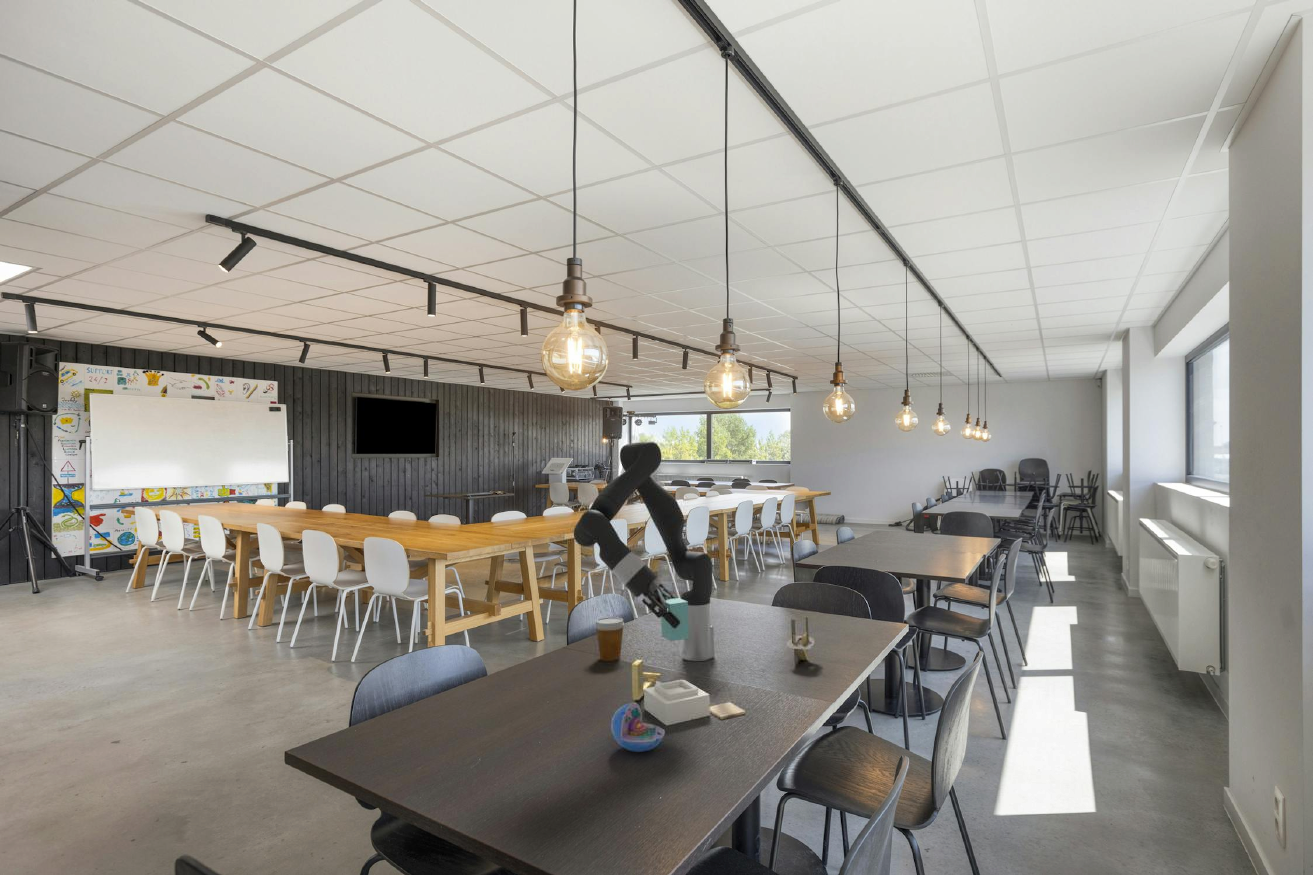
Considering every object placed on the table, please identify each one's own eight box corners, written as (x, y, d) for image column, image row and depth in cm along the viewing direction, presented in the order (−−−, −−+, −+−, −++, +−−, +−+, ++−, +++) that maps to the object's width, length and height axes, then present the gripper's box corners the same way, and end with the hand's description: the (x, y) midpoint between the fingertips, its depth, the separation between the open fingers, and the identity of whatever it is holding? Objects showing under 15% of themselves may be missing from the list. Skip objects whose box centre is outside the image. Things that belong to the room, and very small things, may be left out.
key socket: (656, 680, 183) (656, 679, 183) (666, 687, 178) (666, 685, 178) (637, 684, 181) (637, 683, 181) (646, 691, 175) (646, 689, 175)
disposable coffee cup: (627, 653, 210) (626, 616, 211) (622, 662, 201) (621, 623, 201) (598, 653, 211) (597, 616, 212) (592, 662, 202) (591, 623, 202)
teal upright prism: (679, 633, 164) (678, 597, 165) (688, 638, 160) (687, 601, 160) (661, 636, 162) (660, 600, 162) (671, 641, 158) (670, 604, 158)
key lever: (644, 681, 181) (644, 648, 182) (661, 682, 180) (660, 649, 180) (626, 699, 168) (625, 663, 168) (644, 701, 166) (643, 665, 167)
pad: (729, 704, 164) (729, 701, 164) (745, 713, 158) (745, 711, 158) (706, 709, 161) (706, 707, 161) (721, 719, 155) (721, 716, 155)
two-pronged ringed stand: (841, 655, 204) (840, 610, 204) (831, 681, 181) (830, 630, 181) (775, 649, 212) (774, 606, 212) (758, 673, 189) (756, 625, 189)
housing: (685, 699, 168) (685, 675, 168) (710, 715, 158) (709, 689, 158) (644, 708, 163) (643, 683, 163) (666, 725, 152) (665, 698, 152)
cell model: (653, 763, 133) (652, 716, 133) (603, 754, 138) (602, 708, 138) (673, 744, 142) (672, 700, 142) (625, 735, 147) (624, 693, 147)
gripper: (637, 568, 156) (685, 618, 153) (651, 559, 170) (696, 604, 167) (616, 590, 157) (664, 640, 154) (632, 579, 171) (676, 624, 168)
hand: (680, 621), depth 161 cm, fingers closed on teal upright prism, 7 cm apart
